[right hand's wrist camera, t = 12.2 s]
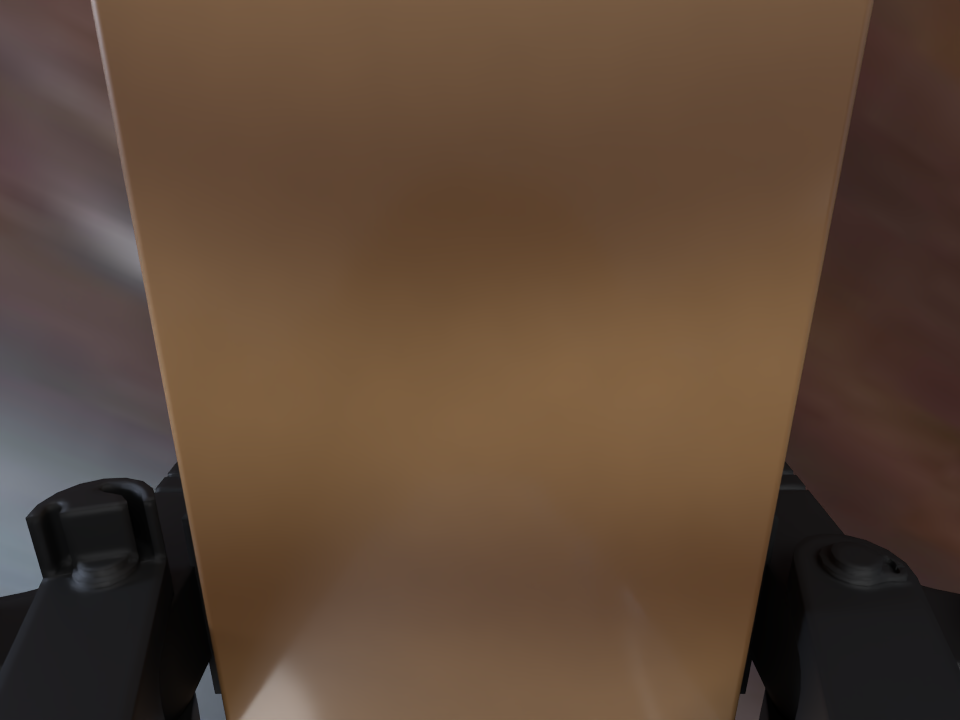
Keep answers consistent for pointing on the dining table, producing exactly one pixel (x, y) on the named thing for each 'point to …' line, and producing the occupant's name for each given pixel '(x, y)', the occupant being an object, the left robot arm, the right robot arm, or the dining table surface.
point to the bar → (481, 334)
